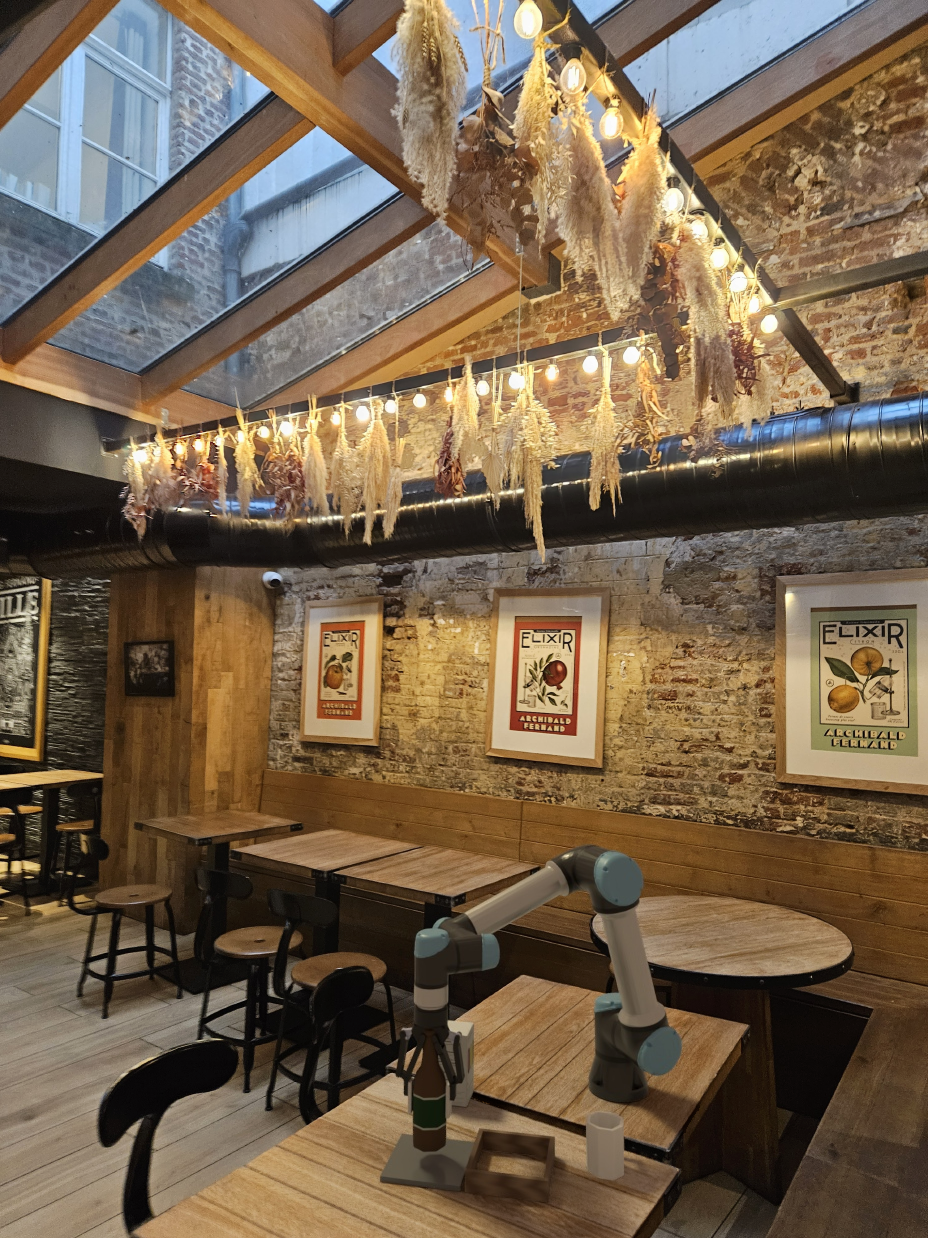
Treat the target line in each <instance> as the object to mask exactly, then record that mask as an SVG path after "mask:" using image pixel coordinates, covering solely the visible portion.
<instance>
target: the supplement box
mask: <svg viewBox="0 0 928 1238" xmlns="http://www.w3.org/2000/svg"><path fill="white" fill-rule="evenodd" d="M448 1027H449V1029H450V1031H452V1032H455V1033H457V1032H461V1033H462V1037H461V1042H460V1044H461V1051H462V1058H463V1065H464V1072H465V1078H464V1080H463V1082H462V1084H456V1098H455V1100H454V1101H452V1106H454V1107H463V1108H467V1106H468V1105H469V1102H470V1101H471V1098H472V1096H473V1093H474V1088H475V1087H474V1084H475V1081H474V1080H475V1079H474V1078H475V1075H474V1073H475V1071H474V1070H475V1066H474V1065H475V1061H474V1060H475V1023H474V1022H470V1021H458V1020H457V1021H456V1020H450V1019H448ZM445 1045H446V1049H447V1052H448V1055H449V1058H450V1060H451V1063H452V1066H453V1069H454V1071H455V1074H456V1067H455V1060H454V1052H453V1044H452V1043H451V1039H450V1038H449V1037H448V1038H447V1039H446V1041H445ZM438 1060H439V1065H440V1066H441V1068H442V1069H443V1071H444V1068H443V1065H442V1062H441V1060H440V1057H439V1055H438ZM444 1075H445V1078H446V1085H447V1083H448V1079H447V1076H446V1073H445V1071H444ZM456 1075H457V1074H456Z"/></svg>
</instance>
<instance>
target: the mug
mask: <svg viewBox="0 0 928 1238" xmlns="http://www.w3.org/2000/svg"><path fill="white" fill-rule="evenodd" d="M624 1127H625V1124H624V1117H622V1116H620V1115H619V1114H617V1113H615V1112H613V1111H607V1110H604V1111H603V1110H598V1109H597V1110H595V1111H593V1112H591V1113H588V1114H586V1115H585V1129H586V1130H585V1133H586V1134H585V1136H586V1137H585V1138H586V1139H585V1141H586V1144H585V1145H586V1146H585V1148H586V1149H585V1150H586V1154H585V1155H586V1160H585V1161H586V1170H587V1173H590V1174H591V1175H592V1176H593V1177H595V1178H597V1179H602V1180H609V1181H615V1180H617V1179H619V1178H622V1177H624V1176H625V1143H624V1142H625V1141H624V1139H625V1136H624V1135H625V1134H624V1130H625V1129H624Z"/></svg>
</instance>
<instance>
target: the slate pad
mask: <svg viewBox="0 0 928 1238" xmlns="http://www.w3.org/2000/svg"><path fill="white" fill-rule="evenodd" d="M474 1142H475V1141H471V1140H462V1139H461V1140H460V1139H454V1138H446V1145H445V1146H444V1147H443V1148H441V1149H440V1150H438V1151H436V1152H422V1151H420V1150H418V1149H416V1148H414V1146H413V1134H411V1133H410V1134H409V1133H401V1134H400V1136H399V1138H398V1140H397V1142H396V1144H395V1146H394V1148H393V1150H392V1152H391V1154H390V1156H389V1158H388V1159H387V1162H386V1163H385V1166H384V1168H383V1170H382V1171H381V1174H380V1176H379V1182H382V1183H383V1182H384V1183H391V1184H399V1185H406V1186H414V1187H421V1188H422V1187H423V1188H430V1189H431V1188H432V1189H438V1190H447V1191H454V1192H461V1189H462V1187H463V1183H464V1182H465V1169H466V1166H467V1163H468V1160H469V1157H470V1154H471V1151H472V1148H473V1145H474Z"/></svg>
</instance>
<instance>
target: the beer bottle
mask: <svg viewBox="0 0 928 1238" xmlns="http://www.w3.org/2000/svg"><path fill="white" fill-rule="evenodd" d="M423 1033H424V1034H425V1035H426V1039H425V1041H424V1045H423V1048H422V1058H421V1062H420V1066H419V1067H418V1068H417V1070H416V1072H415V1075H414V1076H413V1077H414V1085H413V1111H412V1135H413V1146H414V1148H416V1149H418V1150H420V1151H422V1152H436V1151H438V1150H440V1149H441V1148H443V1147H444V1146H445V1145H446V1139H447V1119H448V1118H446V1078H445V1075H444V1071H443V1069H442V1068H441V1066H440V1065H439V1060H438V1054H437V1051H436V1050H435V1046H434V1044H433V1041H432V1036H433V1035H435V1031H434V1030H428V1029H426V1030H424V1031H423Z"/></svg>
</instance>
